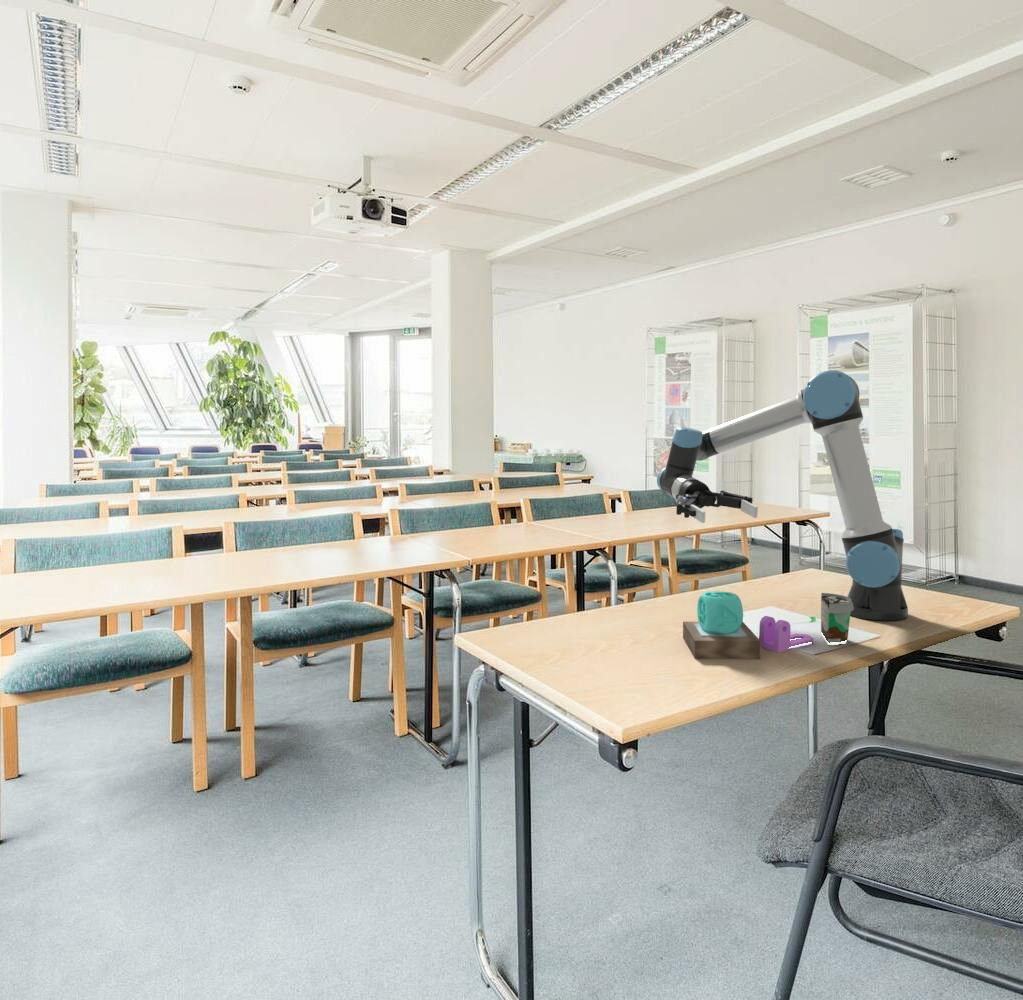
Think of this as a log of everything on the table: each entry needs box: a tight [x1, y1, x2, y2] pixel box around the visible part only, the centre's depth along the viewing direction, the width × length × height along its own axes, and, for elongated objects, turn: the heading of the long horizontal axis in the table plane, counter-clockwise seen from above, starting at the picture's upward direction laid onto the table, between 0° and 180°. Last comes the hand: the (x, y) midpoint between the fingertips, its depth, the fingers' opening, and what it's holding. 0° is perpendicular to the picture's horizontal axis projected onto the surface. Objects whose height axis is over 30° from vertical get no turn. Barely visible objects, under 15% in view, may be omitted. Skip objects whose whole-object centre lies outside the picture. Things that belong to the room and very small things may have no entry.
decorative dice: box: [696, 590, 744, 634], centre depth 172 cm, size 8×8×8 cm
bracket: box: [758, 615, 814, 653], centre depth 174 cm, size 13×6×7 cm, turn 119°
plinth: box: [682, 621, 761, 660], centre depth 172 cm, size 14×16×4 cm
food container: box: [820, 592, 854, 643], centre depth 176 cm, size 12×6×10 cm, turn 166°
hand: (730, 514), depth 181 cm, fingers open, 13 cm apart
